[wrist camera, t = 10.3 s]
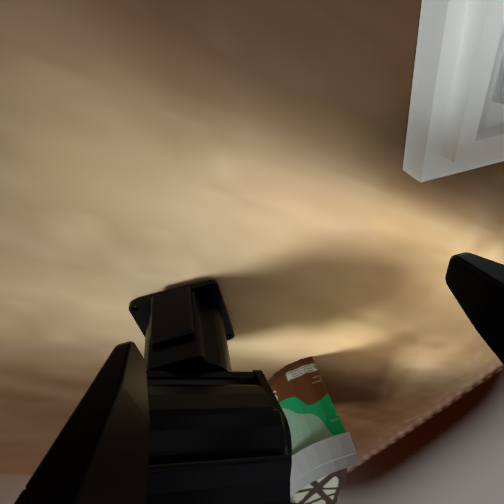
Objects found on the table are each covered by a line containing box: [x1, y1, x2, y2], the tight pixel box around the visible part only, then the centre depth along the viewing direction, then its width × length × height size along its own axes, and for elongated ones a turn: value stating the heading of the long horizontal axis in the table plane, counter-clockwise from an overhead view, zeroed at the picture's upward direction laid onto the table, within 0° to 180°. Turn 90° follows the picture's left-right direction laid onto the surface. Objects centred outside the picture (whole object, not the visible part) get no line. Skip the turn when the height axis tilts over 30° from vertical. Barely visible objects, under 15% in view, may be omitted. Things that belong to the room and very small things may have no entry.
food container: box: [268, 357, 360, 504], centre depth 31 cm, size 12×6×10 cm, turn 2°
